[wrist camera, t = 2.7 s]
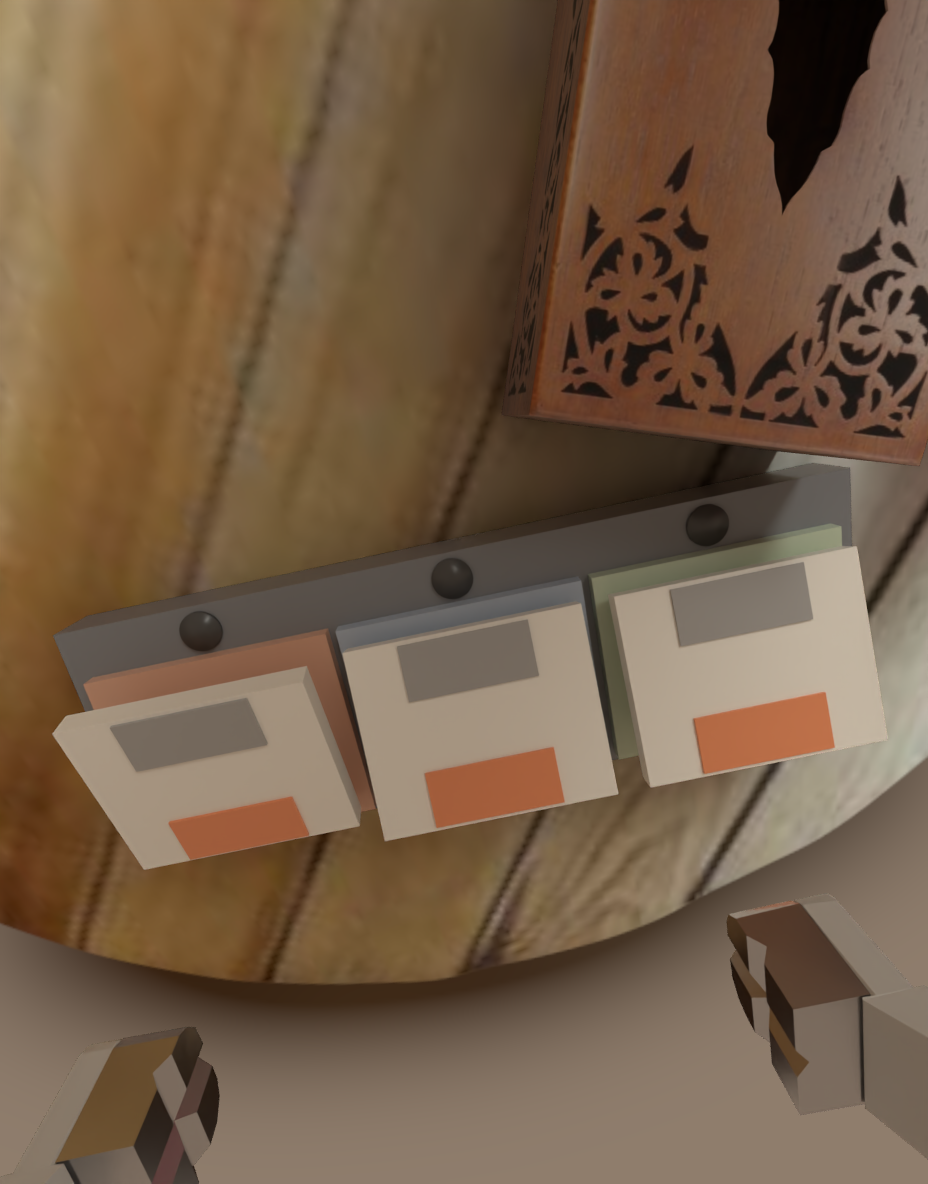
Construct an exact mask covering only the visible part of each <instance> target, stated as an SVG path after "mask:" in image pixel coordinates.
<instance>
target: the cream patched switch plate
mask: <svg viewBox="0 0 928 1184" xmlns="http://www.w3.org/2000/svg"><path fill="white" fill-rule="evenodd" d="M52 735H53V736H54V738H55V739H56V740H57V742H58V743H59V745H60V746H61V748H62V749H63V751H64V752H65V754H66V755H67V757H68V758H69V760H70V761H71V763H72V764H73V766H74V767H75V769H76V770H77V772H78V773H79V774H80V776H81V777H82V779H83V780H84V782H85V783H86V785H87V786H88V788H89V789H90V791H91V792H92V794H93V795H94V797H95V798H96V800H97V801H98V803H99V804H100V806H101V807H102V808H103V810H104V811H105V813H106V814H107V816H108V817H109V819H110V820H111V822H112V823H113V825H114V826H115V828H116V829H117V831H118V832H119V834H120V835H121V837H122V838H123V840H124V841H125V842H126V844H127V845H128V847H129V848H130V850H131V851H132V853H133V854H134V856H135V857H136V859H137V860H138V862H139V863H140V865H141V866H142V868H143V869H144V870H146V869H151V868H156V867H161V866H166V865H170V864H175V863H180V862H185V861H190V860H195V859H200V858H205V857H210V856H215V855H220V854H225V853H230V852H235V851H240V850H245V849H250V848H254V847H259V846H264V845H269V844H274V843H279V842H284V841H289V840H294V839H299V838H304V837H309V836H314V835H319V834H324V833H329V832H333V831H338V830H343V829H348V828H353V827H358V826H360V818H361V805H360V802H359V800H358V797H357V795H356V792H355V790H354V787H353V784H352V782H351V779H350V777H349V774H348V771H347V769H346V766H345V764H344V761H343V758H342V756H341V753H340V751H339V748H338V746H337V743H336V740H335V738H334V735H333V733H332V730H331V727H330V725H329V722H328V720H327V717H326V714H325V712H324V709H323V707H322V704H321V702H320V699H319V696H318V694H317V691H316V689H315V686H314V683H313V681H312V678H311V676H310V673H309V670H308V668H307V666H304V667H299V668H294V669H290V670H285V671H280V672H275V673H270V674H265V675H261V676H256V677H251V678H246V679H241V680H237V681H232V682H227V683H222V684H217V685H212V686H208V687H203V688H198V689H193V690H188V691H184V692H179V693H174V694H169V695H164V696H160V697H155V698H150V699H145V700H140V701H135V702H131V703H126V704H121V705H116V706H111V707H107V708H102V709H97V710H92V711H87V712H83V713H78V714H73V715H68V716H66V717H65V718H64V719H63V720H62V722H61V723H60V724H59V726H58V727H57V728H56V730H55V731H54V732H53V734H52Z"/></svg>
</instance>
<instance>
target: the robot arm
mask: <svg viewBox="0 0 928 1184" xmlns="http://www.w3.org/2000/svg"><path fill="white" fill-rule="evenodd" d="M727 933H728V937H729V938H730V940H731V942H732V943H733V945H734V947H735V949H736V951H735V952H734V954H733V955H732V957H731V958H730V962H731V969H732V977H733V981H734V984H735V988H736V991H737V994H738V998H739V1000H740V1003H741V1005H742V1007H743V1009H744V1012H745V1014H746V1016H747V1018H748V1020H749V1022H750V1024H751V1026H752V1027H753V1029H754V1031H755V1033H757V1034H758V1035H760V1036H761V1037H763V1038H764V1039H766V1040H767V1041H769V1042H770V1047H771V1057H772V1065H773V1066H774V1068H775V1070H776V1072H777V1074H778V1076H779V1077H780V1079H781V1081H782V1083H783V1084H784V1087H785V1088H786V1090H787V1092H788V1094H789V1096H790V1098H791V1099H792V1101H793V1103H794V1105H795V1107H796V1109H797V1110H798V1112H799V1114H800V1115H804V1114H809V1113H816V1112H821V1111H827V1110H833V1109H839V1108H845V1107H851V1106H856V1105H862V1104H865V1109H867V1110H868V1111H869V1112H870V1113H872V1114H873V1115H874V1116H875V1117H876V1118H878V1119H879V1120H880V1121H881V1122H883V1123H884V1124H885V1125H886V1126H887V1127H889V1128H890V1129H891V1130H893V1131H894V1132H895V1133H896V1134H897V1135H899V1136H900V1137H901V1138H902V1139H904V1140H905V1141H906V1142H907V1143H908V1144H910V1145H911V1146H912V1147H913V1148H915V1149H916V1150H917V1151H918V1152H919V1153H921V1154H922V1155H923V1156H924V1157H926V1158H927V1159H928V987H926V986H918V987H913V986H912V985H911V984H910V983H909V982H908V981H907V980H906V978H904V976H903V975H902V974H901V973H900V972H899V970H898V969H897V968H896V967H895V966H894V965H893V964H892V962H891V961H890V960H889V959H888V958H887V957H886V956H885V954H884V953H883V952H882V951H881V950H880V949H879V948H878V946H877V945H876V944H875V943H874V942H873V941H872V940H871V938H870V937H869V936H868V935H867V934H866V933H865V932H864V930H863V929H862V928H861V927H860V926H859V925H858V924H857V923H856V921H855V920H854V919H853V918H852V917H851V916H850V914H848V912H847V911H846V910H845V909H844V908H843V907H842V905H841V904H840V903H839V902H838V901H837V900H836V899H835V898H834V897H833V896H831V895H829V894H827V893H826V894H821V895H816V896H812V897H807V898H802V899H797V900H794V901H787V902H783V903H778V904H773V905H769V906H764V907H760V908H755V909H751V910H746V911H742V912H737V913H732V914H728V918H727ZM202 1045H203V1042H202V1041H201V1038H200V1036H199V1034H198V1032H197V1030H196V1027H184V1028H178V1029H172V1030H167V1031H161V1032H156V1033H150V1034H144V1035H138V1036H133V1037H128V1038H123V1039H119V1040H114V1041H108V1042H103V1043H97V1044H92V1045H90V1046H89V1047H88V1048H87V1049H86V1050H85V1051H83V1052H82V1053H81V1054H80V1055H79V1057H78V1058H77V1060H76V1062H75V1064H74V1066H73V1067H72V1069H71V1071H70V1073H69V1074H68V1076H67V1078H66V1080H65V1082H64V1083H63V1085H62V1087H61V1089H60V1090H59V1092H58V1094H57V1096H56V1097H55V1099H54V1101H53V1103H52V1105H51V1107H50V1108H49V1110H48V1112H47V1114H46V1115H45V1117H44V1119H43V1121H42V1122H41V1124H40V1126H39V1128H38V1130H37V1132H36V1133H35V1135H34V1137H33V1138H32V1140H31V1142H30V1144H29V1146H28V1147H27V1149H26V1151H25V1153H24V1155H23V1156H22V1158H21V1160H20V1162H19V1163H18V1165H17V1167H16V1169H15V1171H14V1172H13V1174H8V1175H4V1176H1V1177H0V1184H199V1181H198V1177H197V1174H196V1171H195V1168H194V1165H195V1164H196V1162H197V1161H198V1160H199V1158H200V1157H201V1156H202V1154H203V1153H204V1152H205V1151H206V1150H207V1148H208V1147H209V1146H210V1144H211V1141H212V1138H213V1134H214V1131H215V1127H216V1124H217V1117H218V1107H219V1088H218V1081H217V1077H216V1074H215V1072H214V1069H213V1066H212V1065H210V1064H209V1063H207V1062H205V1061H204V1060H202V1059H201V1058H199V1057H198V1056H199V1053H200V1051H201V1048H202Z"/></svg>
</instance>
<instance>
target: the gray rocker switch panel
mask: <svg viewBox="0 0 928 1184" xmlns="http://www.w3.org/2000/svg"><path fill="white" fill-rule="evenodd" d="M839 546H852V524H851V484H850V468H848V467H840V466H832V465H824V464H816V463H811V464H806V465H801V466H796V467H792V468H787V469H782V470H777V471H773V472H768V473H763V474H758V475H754V476H749V477H744V478H739V479H735V480H730V481H725V482H720V483H716V484H711V485H706V486H701V487H697V488H692V489H687V490H682V491H678V492H673V493H668V494H664V495H659V496H654V497H649V498H645V499H640V500H635V501H630V502H626V503H621V504H616V505H611V506H607V507H602V508H597V509H592V510H588V511H583V512H578V513H573V514H569V515H564V516H559V517H554V518H550V519H545V520H540V521H535V522H531V523H526V524H521V525H516V526H512V527H507V528H502V529H497V530H493V531H488V532H483V533H478V534H474V535H469V536H464V537H459V538H455V539H450V540H445V541H440V542H436V543H431V544H426V545H421V546H417V547H412V548H407V549H402V550H398V551H393V552H388V553H383V554H379V555H374V556H369V557H364V558H360V559H355V560H350V561H346V562H341V563H336V564H331V565H327V566H322V567H317V568H312V569H308V570H303V571H298V572H293V573H289V574H284V575H279V576H274V577H270V578H265V579H260V580H255V581H251V582H246V583H241V584H236V585H232V586H227V587H222V588H217V589H213V590H208V591H203V592H198V593H194V594H189V595H184V596H179V597H175V598H170V599H165V600H160V601H156V602H151V603H146V604H141V605H137V606H132V607H127V608H122V609H118V610H113V611H108V612H103V613H99V614H94V615H89V616H86V617H84V618H83V619H81V620H79V621H77V622H76V623H74V624H72V625H70V626H69V627H67V628H65V629H63V630H62V631H60V632H58V633H56V634H55V635H53V637H54V639H55V641H56V644H57V646H58V648H59V651H60V653H61V655H62V658H63V660H64V662H65V665H66V667H67V670H68V672H69V674H70V677H71V679H72V681H73V684H74V686H75V688H76V691H77V693H78V695H79V698H80V700H81V703H82V705H83V707H84V710H85V712H87V711H92V710H97V709H102V708H107V707H111V706H116V705H121V704H126V703H131V702H135V701H140V700H145V699H150V698H155V697H160V696H164V695H169V694H174V693H179V692H184V691H188V690H193V689H198V688H203V687H208V686H212V685H217V684H222V683H227V682H232V681H237V680H241V679H246V678H251V677H256V676H261V675H265V674H270V673H275V672H280V671H285V670H290V669H294V668H299V667H304V666H307V668H308V670H309V673H310V676H311V678H312V681H313V683H314V686H315V689H316V691H317V694H318V696H319V699H320V702H321V704H322V707H323V709H324V712H325V714H326V717H327V720H328V722H329V725H330V727H331V730H332V733H333V735H334V738H335V740H336V743H337V746H338V748H339V751H340V753H341V756H342V758H343V761H344V764H345V766H346V769H347V771H348V774H349V777H350V779H351V782H352V784H353V787H354V790H355V792H356V795H357V797H358V800H359V802H360V805H361V812H364V811H369V810H373V809H376V808H377V804H376V800H375V795H374V791H373V786H372V782H371V778H370V773H369V769H368V764H367V760H366V756H365V751H364V747H363V742H362V738H361V734H360V729H359V725H358V720H357V716H356V712H355V707H354V703H353V698H352V694H351V690H350V685H349V681H348V676H347V672H346V668H345V663H344V659H343V654H342V653H343V652H344V651H345V650H346V649H348V648H353V647H358V646H363V645H367V644H372V643H377V642H382V641H387V640H392V639H396V638H401V637H406V636H411V635H416V634H420V633H425V632H430V631H435V630H440V629H444V628H449V627H454V626H459V625H464V624H468V623H473V622H478V621H483V620H488V619H492V618H497V617H502V616H507V615H512V614H517V613H521V612H526V611H531V610H536V609H541V608H545V607H550V606H555V605H560V604H565V603H569V602H574V601H577V602H579V603H581V605H582V610H583V616H584V621H585V626H586V631H587V636H588V641H589V646H590V651H591V656H592V661H593V666H594V672H595V677H596V682H597V687H598V692H599V697H600V702H601V707H602V712H603V717H604V723H605V728H606V733H607V738H608V743H609V748H610V753H611V758H612V760H617V759H619V760H620V759H625V758H630V757H635V756H639V754H638V749H637V744H636V738H635V733H634V728H633V723H632V718H631V712H630V707H629V702H628V697H627V692H626V686H625V681H624V676H623V671H622V666H621V661H620V655H619V650H618V645H617V640H616V635H615V629H614V624H613V619H612V614H611V609H610V603H609V598H608V594H613V593H617V592H622V591H627V590H632V589H637V588H642V587H646V586H651V585H656V584H661V583H666V582H670V581H675V580H680V579H685V578H690V577H694V576H699V575H704V574H709V573H714V572H718V571H723V570H728V569H733V568H738V567H742V566H747V565H752V564H757V563H762V562H767V561H771V560H776V559H781V558H786V557H791V556H795V555H800V554H805V553H810V552H815V551H819V550H824V549H829V548H834V547H839Z"/></svg>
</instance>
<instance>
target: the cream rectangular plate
mask: <svg viewBox="0 0 928 1184" xmlns="http://www.w3.org/2000/svg"><path fill="white" fill-rule="evenodd" d="M342 654H343V659H344V663H345V668H346V672H347V676H348V681H349V685H350V690H351V694H352V698H353V703H354V707H355V712H356V716H357V720H358V725H359V729H360V734H361V738H362V742H363V747H364V751H365V756H366V760H367V764H368V769H369V773H370V778H371V782H372V786H373V791H374V795H375V800H376V804H377V808H378V813H379V817H380V822H381V826H382V830H383V835H384V839H385V841H389V840H394V839H399V838H404V837H409V836H414V835H419V834H424V833H429V832H434V831H439V830H444V829H449V828H454V827H459V826H464V825H469V824H474V823H479V822H483V821H488V820H493V819H498V818H503V817H508V816H513V815H518V814H523V813H528V812H533V811H538V810H543V809H548V808H553V807H558V806H563V805H568V804H573V803H578V802H583V801H588V800H592V799H597V798H602V797H607V796H612V795H617V794H618V789H617V784H616V779H615V773H614V768H613V763H612V758H611V753H610V748H609V743H608V738H607V733H606V728H605V723H604V717H603V712H602V707H601V702H600V697H599V692H598V687H597V682H596V677H595V672H594V666H593V661H592V656H591V651H590V646H589V641H588V636H587V631H586V626H585V621H584V616H583V610H582V605H581V603H579V602H577V601H574V602H569V603H565V604H560V605H555V606H550V607H545V608H541V609H536V610H531V611H526V612H521V613H517V614H512V615H507V616H502V617H497V618H492V619H488V620H483V621H478V622H473V623H468V624H464V625H459V626H454V627H449V628H444V629H440V630H435V631H430V632H425V633H420V634H416V635H411V636H406V637H401V638H396V639H392V640H387V641H382V642H377V643H372V644H367V645H363V646H358V647H353V648H348V649H346V650H345V651H344V652H343V653H342Z"/></svg>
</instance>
